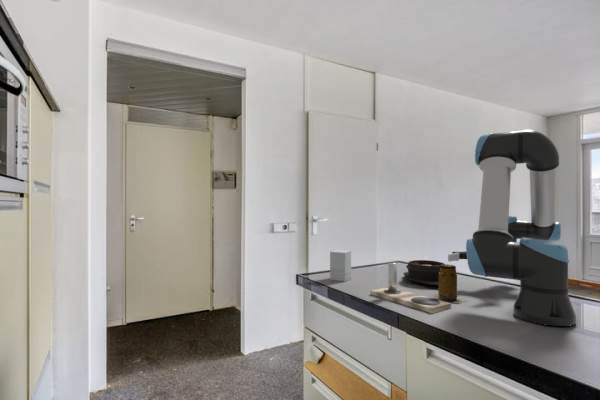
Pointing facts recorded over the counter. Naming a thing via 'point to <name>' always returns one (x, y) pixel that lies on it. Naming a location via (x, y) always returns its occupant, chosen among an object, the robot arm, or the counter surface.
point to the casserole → (423, 272)
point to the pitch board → (412, 300)
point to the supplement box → (340, 265)
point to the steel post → (392, 277)
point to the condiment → (448, 284)
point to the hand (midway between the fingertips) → (465, 260)
